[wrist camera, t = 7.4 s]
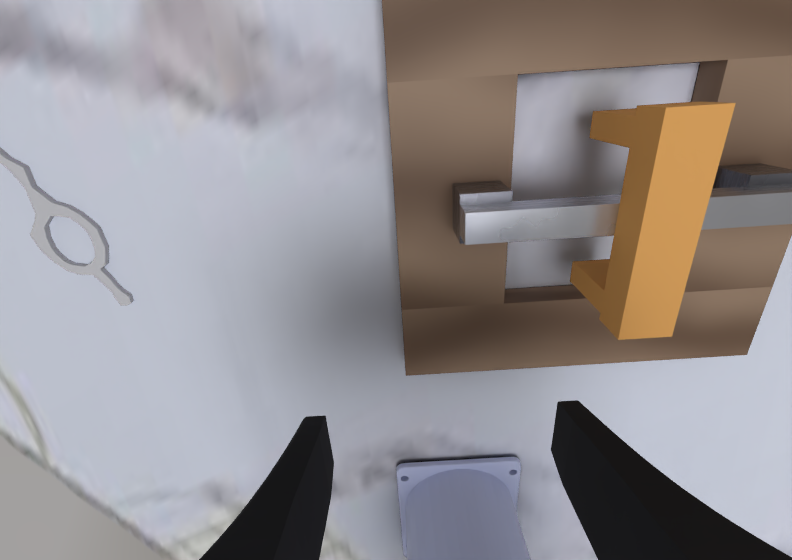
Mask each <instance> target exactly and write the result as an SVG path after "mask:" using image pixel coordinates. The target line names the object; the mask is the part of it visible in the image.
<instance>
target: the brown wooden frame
mask: <svg viewBox="0 0 792 560" xmlns="http://www.w3.org/2000/svg"><path fill="white" fill-rule="evenodd" d="M382 9H383V24H384V40H385V56H386V72H387V87H388V103H389V119H390V134H391V150H392V166H393V182H394V197H395V213H396V229H397V245H398V260H399V276H400V292H401V307H402V323H403V339H404V355H405V370H406V376H407V375H423V374H439V373H456V372H472V371H489V370H505V369H521V368H538V367H554V366H570V365H587V364H603V363H620V362H636V361H652V360H669V359H685V358H701V357H718V356H734V355H747V353H748V350H749V348H750V345H751V342H752V340H753V337H754V334H755V332H756V329H757V326H758V324H759V321H760V318H761V316H762V313H763V310H764V308H765V305H766V302H767V300H768V297H769V294H770V292H771V289H772V286H773V284H774V281H775V278H776V276H777V273H778V270H779V268H780V265H781V262H782V260H783V257H784V254H785V252H786V249H787V246H788V244H789V241H790V238H791V236H792V224H783V225H768V226H752V227H737V228H721V229H705V230H701V232H700V236H699V239H698V243H697V247H696V250H695V254H694V258H693V261H692V265H691V269H690V272H689V276H688V280H687V283H686V287H685V291H684V294H683V298H682V302H681V305H680V309H679V313H678V316H677V320H676V324H675V327H674V331H673V335H672V337H658V338H641V339H625V340H618V339H617V338H616V337H615V336H614V335H613V334H612V333H611V332H610V331H609V329H608V328H607V327H606V326H605V325H604V324H603V323H602V322H601V321H600V320H599V317H600V312H599V311H598V310H597V309H596V308H595V307H594V306H593V305H592V304H591V303H590V302H589V300H588V299H587V298H586V297H585V296H584V295H583V294H582V293H581V292H580V291H579V290H578V289H577V288H576V287H575V286H574V285H565V286H549V287H533V288H517V289H505V278H506V261H507V244H508V242H503V243H487V244H471V245H465V244H460V243H459V241H458V239H457V237H456V235H455V232H454V230H453V183H466V182H481V181H497V180H500V181H501V182H502V183H504V184H505V185H506V186H507V187H508V188H510V189H511V178H512V161H513V144H514V128H515V111H516V94H517V78H518V75H519V74H533V73H548V72H563V71H577V70H592V69H607V68H621V67H636V66H651V65H665V64H680V63H695V62H701V63H700V67H699V71H698V76H697V80H696V84H695V89H694V93H693V97H692V102H724V103H736V104H735V107H734V111H733V115H732V118H731V122H730V126H729V129H728V133H727V137H726V140H725V144H724V148H723V151H722V155H721V159H720V162H719V166H725V165H740V164H756V163H762V164H767V165H772V166H777V167H782V168H787V169H792V0H382Z"/></svg>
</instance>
